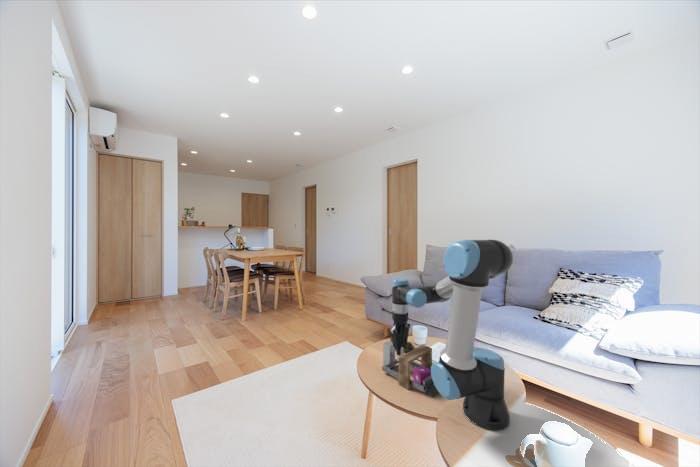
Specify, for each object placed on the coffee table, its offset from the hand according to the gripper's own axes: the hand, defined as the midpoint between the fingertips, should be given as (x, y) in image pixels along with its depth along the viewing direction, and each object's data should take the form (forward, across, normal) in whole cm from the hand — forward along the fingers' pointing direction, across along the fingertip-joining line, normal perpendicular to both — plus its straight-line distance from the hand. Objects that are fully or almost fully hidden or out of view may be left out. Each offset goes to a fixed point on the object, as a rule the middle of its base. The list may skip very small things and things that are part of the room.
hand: (400, 361), depth 128 cm
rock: (+6, -20, -15) cm, 26 cm away
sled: (+5, 0, +4) cm, 6 cm away
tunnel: (+5, 0, +9) cm, 10 cm away
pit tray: (+5, 0, +19) cm, 20 cm away
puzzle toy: (+5, 0, +12) cm, 13 cm away
